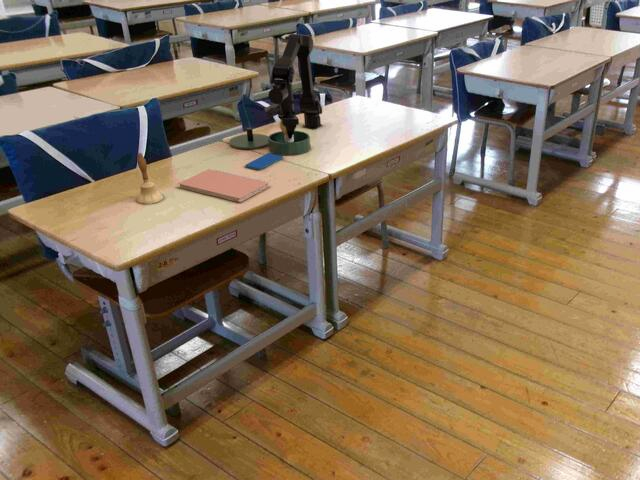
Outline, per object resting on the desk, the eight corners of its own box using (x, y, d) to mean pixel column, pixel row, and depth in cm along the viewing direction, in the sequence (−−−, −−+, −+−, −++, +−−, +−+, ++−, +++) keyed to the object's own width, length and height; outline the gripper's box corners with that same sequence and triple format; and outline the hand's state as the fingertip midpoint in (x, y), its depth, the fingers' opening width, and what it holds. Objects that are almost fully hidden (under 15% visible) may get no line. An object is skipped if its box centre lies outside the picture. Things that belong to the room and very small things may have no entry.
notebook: (271, 186, 224) (270, 180, 223) (240, 203, 211) (239, 197, 210) (211, 172, 234) (210, 167, 233) (178, 187, 222) (177, 182, 221)
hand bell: (148, 206, 208) (138, 159, 200) (132, 200, 212) (121, 154, 203) (168, 197, 214) (159, 152, 206) (152, 192, 218) (142, 147, 209)
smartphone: (244, 165, 239) (268, 152, 250) (244, 167, 239) (269, 154, 250) (259, 168, 236) (283, 155, 247) (260, 171, 236) (284, 158, 248)
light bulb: (279, 140, 258) (277, 116, 252) (295, 139, 260) (293, 114, 254) (283, 145, 253) (281, 120, 247) (299, 143, 255) (297, 119, 249)
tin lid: (227, 138, 267) (225, 124, 264) (268, 135, 272) (267, 120, 269) (231, 152, 254) (229, 136, 250) (275, 148, 258) (273, 133, 255)
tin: (266, 144, 262) (265, 132, 259) (305, 140, 266) (304, 129, 264) (272, 157, 249) (271, 145, 246) (313, 153, 253) (312, 141, 251)
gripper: (261, 92, 252) (265, 131, 260) (268, 105, 237) (272, 145, 245) (289, 90, 255) (292, 128, 263) (297, 102, 240) (300, 142, 248)
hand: (288, 136), depth 255 cm, fingers closed on light bulb, 6 cm apart
